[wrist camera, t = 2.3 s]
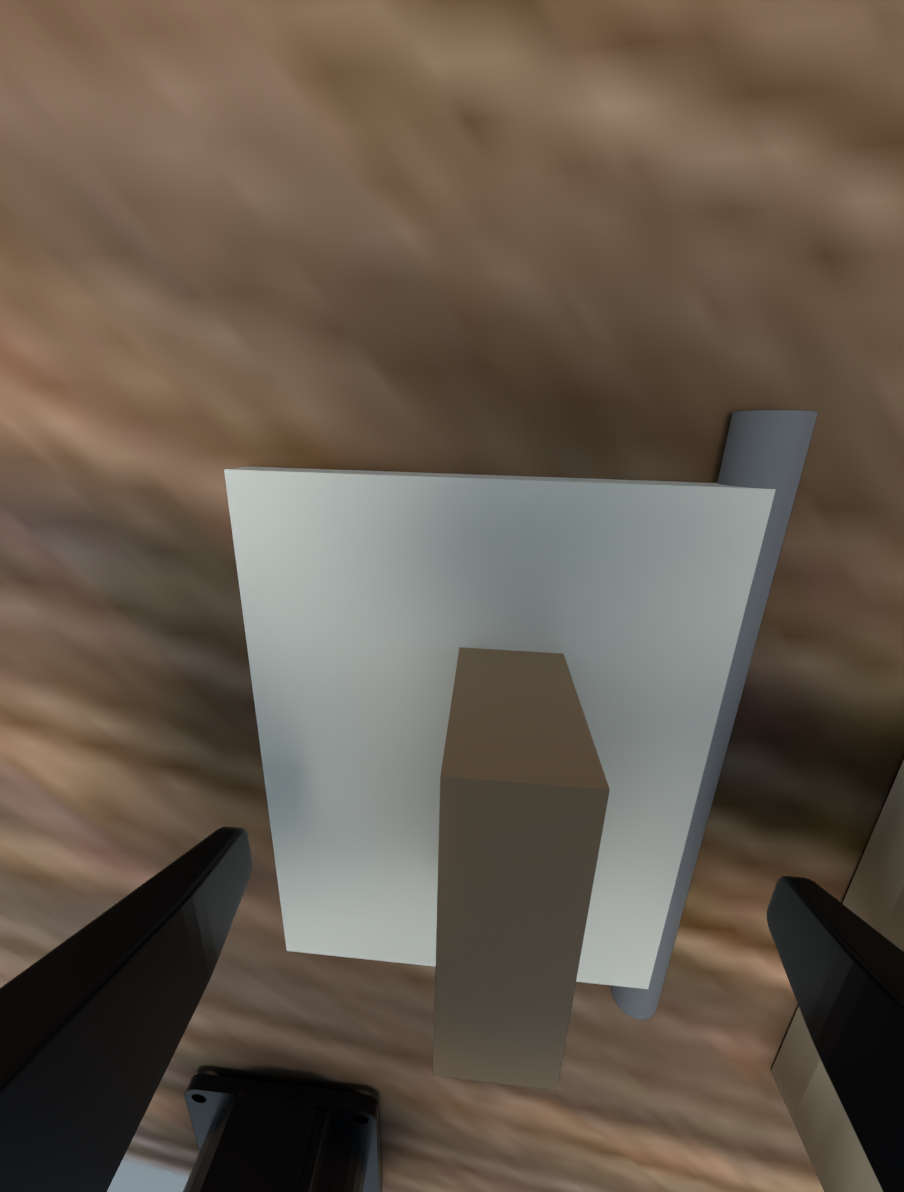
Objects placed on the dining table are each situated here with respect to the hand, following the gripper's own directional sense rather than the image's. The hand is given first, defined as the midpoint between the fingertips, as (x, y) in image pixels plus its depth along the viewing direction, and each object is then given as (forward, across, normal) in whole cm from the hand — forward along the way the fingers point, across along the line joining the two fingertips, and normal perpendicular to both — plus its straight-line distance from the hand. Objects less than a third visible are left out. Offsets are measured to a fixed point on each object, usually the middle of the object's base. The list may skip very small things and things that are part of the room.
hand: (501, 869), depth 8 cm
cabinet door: (+3, 0, 0) cm, 3 cm away
